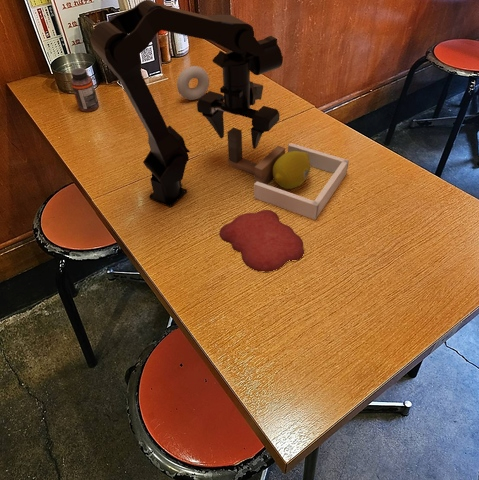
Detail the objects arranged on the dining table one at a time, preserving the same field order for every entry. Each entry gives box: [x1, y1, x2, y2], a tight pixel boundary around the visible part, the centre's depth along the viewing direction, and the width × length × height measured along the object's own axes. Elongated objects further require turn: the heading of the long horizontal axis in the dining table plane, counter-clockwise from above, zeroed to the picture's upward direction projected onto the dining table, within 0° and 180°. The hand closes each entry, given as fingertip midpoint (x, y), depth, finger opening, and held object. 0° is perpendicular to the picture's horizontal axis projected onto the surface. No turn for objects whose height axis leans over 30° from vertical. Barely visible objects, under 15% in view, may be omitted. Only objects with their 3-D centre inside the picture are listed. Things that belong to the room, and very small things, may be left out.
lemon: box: [273, 151, 311, 190], centre depth 104 cm, size 11×8×8 cm
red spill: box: [219, 209, 305, 272], centre depth 94 cm, size 18×14×2 cm
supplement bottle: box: [70, 67, 100, 113], centre depth 130 cm, size 6×6×11 cm
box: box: [253, 142, 350, 221], centre depth 105 cm, size 18×15×4 cm
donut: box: [176, 65, 210, 101], centre depth 133 cm, size 10×4×10 cm, turn 117°
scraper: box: [226, 127, 286, 185], centre depth 108 cm, size 10×12×10 cm
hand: (238, 142), depth 108 cm, fingers open, 9 cm apart
